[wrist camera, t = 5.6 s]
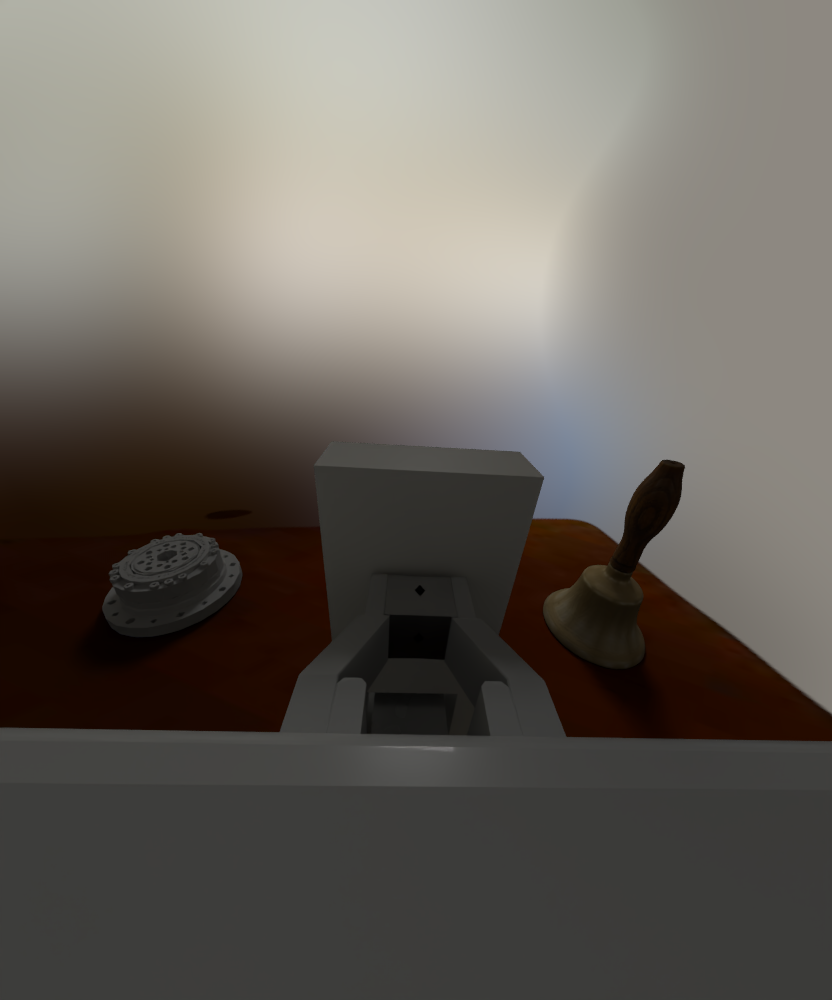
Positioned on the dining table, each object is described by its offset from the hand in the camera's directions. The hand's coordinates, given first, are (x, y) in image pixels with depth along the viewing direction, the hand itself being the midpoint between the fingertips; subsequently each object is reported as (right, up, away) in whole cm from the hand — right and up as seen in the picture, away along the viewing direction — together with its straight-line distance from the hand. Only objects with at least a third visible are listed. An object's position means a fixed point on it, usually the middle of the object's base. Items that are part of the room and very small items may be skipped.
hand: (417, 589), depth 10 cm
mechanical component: (-22, -6, +19) cm, 29 cm away
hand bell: (+16, -9, +18) cm, 25 cm away
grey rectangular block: (-1, -9, +7) cm, 11 cm away
